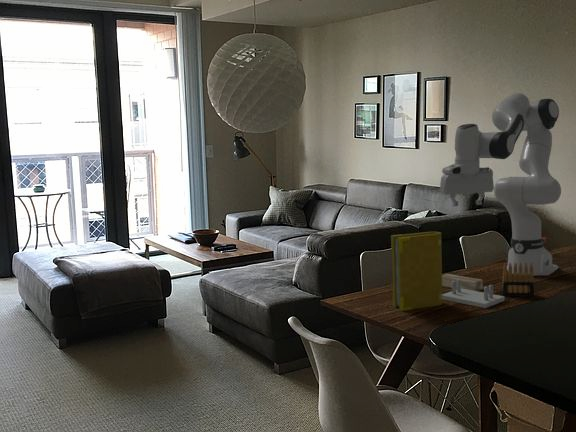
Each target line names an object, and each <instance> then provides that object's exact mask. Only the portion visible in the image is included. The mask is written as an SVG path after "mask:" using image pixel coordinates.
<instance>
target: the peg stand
mask: <svg viewBox="0 0 576 432" xmlns="http://www.w3.org/2000/svg"><path fill="white" fill-rule="evenodd" d="M505 297H506V296H503V295H499V294H494V284H489V285H488V286H483V291H472V290H467V289H462V288H461V280H460V279H457V289H456V281H452V288H451V291H449V292H446V293H442V301H449V302H452V303H458V304H463V305H468V306H472V307H477V308H482V309H487V308H489V307H492V306H495V305H497V304H499V303H502V302H505Z"/></svg>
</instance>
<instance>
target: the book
mask: <svg viewBox="0 0 576 432" xmlns="http://www.w3.org/2000/svg"><path fill="white" fill-rule="evenodd" d="M390 242H391V246H390V247H391V255H392V256H391V262H392V307H394V308H398V310H399V311H401V312H403V311H410V310H415V309H422V308H431V307H436V306H437V307H438V306H442V305H443V299H442V294H443V286H442V275H443V263H442V262H443V259H442V257H443V256H442V255H443V253H442V249H443V248H442V232H440V231H424V232H414V233H406V234H405V233H404V234H393V235H390Z"/></svg>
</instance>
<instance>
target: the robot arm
mask: <svg viewBox="0 0 576 432" xmlns="http://www.w3.org/2000/svg"><path fill="white" fill-rule="evenodd" d="M559 109H560V108H559V106H558V104H557V102H556V101H555V100H553V99H552V98H543V99H540V100H534V101H530V99H529V98H528V96H527V95H525V94H524V93H520V92H514V93H512V94H510V95H508V96H506V97H505V98H504V99H503V100H502V101H500V103H498V105H496V106H495V108H494V109H493V111H492V114H491V120H492V123H493V125H494V126H495V127H496V129H497V130H499V131H498V132H497V131H495V132H494V131H493V132H482V131H480V130H479V126H478V124H476V123H466V124H461V125H459V126H458V127H456V129H455V137H454V151H455V158H454V163H452V164H451V165H448V166H445V167H444V168H442V170H441V173H442V176H441V177H440V183H439V184H440V186H439V187H440V188H439V189H440V190H439V191H440V193H441V194H442V195H445V196H446V195H447V196H449V198H450V200H451V202H452V207H459V201H458V200H456V195H464V194H478V198H477V199H475V205H476V206H479V205H482V201H483V199H484V197H485V193H491V192H493V194H494V197H495V199H497V201H498V202H500V203H501V204H502V205H503V206H504V207H505V209H506V210H507V211H508V214H509V217H510V221H511V233H512V234H511V236H512V237H511V238H510V247H511V248H510V249H509V250H508V255H507V256H508V257H507V265H506V266H507V271H508V269H509V263H511V265H512V274H513V271H514V264H515V263H516V265H517V273H519V264H520V263H521V264H522V272H523V275H524V266H525V263H527V267H528V277H529V268H530V264H531V263H532V265H533V274H534V276H535V277H536V276H550V275H551V274H552V273H554V272H555V271H557V270H558V269H559V266H558V265H557V264H553V255H552V253H550V251H548V250H547V249H546V248H545V246H544V244H545V243H546V242H547V237H542V220H541V218H540V217H539V216H538V215H537V214H536V213H533V212H532V211H530V209H528V206H527V205H540V206H545V205H550V204H555V203H557V202H558V200H560V197H561V194H562V188H561V184H560V182H559V181H558V180H557V178H555V177H553V176H552V175H551V173H550V172H549V164H550V163H549V161H550V157H551V152H552V145H553V135H552V131H551V129H553V128H554V127H555V125H556V123H557V121H558V118H559V116H560V110H559ZM525 131H526V133H527V135H526V137H525V139H524V142H523V145H522V149H521V154H520V158H519V160H518V165H519V167H520V169H521V171H523V172H524V174H526V175H528V176H508V177H502V178H499V179H498V180H497V181H496V182H495V184H494V178H493V177H494V171H493V170H492V169H491V168H490V167H487V166H486V167H480V159H498V160H506V159H508V158H509V157H511V155H512V154H513V152H514V149H515V145H516V143H517V141H518V140H519V138H520V136H521V133H522V132H525Z"/></svg>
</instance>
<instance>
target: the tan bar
mask: <svg viewBox="0 0 576 432" xmlns="http://www.w3.org/2000/svg"><path fill="white" fill-rule="evenodd" d="M457 279H460V280H461V288H462V289H467V290H472V291H478V292H481V291H482V290H484V284H483V283H484V282H483V281H484V280H483V279H481V278H475V277H474V278H473V277H468V276H462V275H457V274H452V273H444V274H442V287H444V288H445V287H446V288H451V289H452V281H456V290H457Z"/></svg>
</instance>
